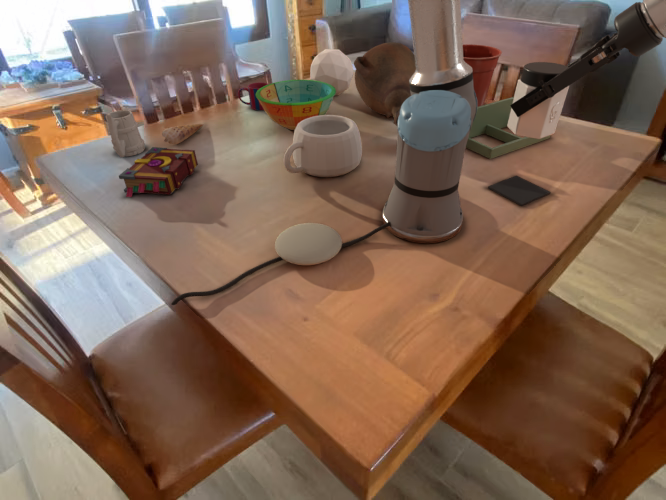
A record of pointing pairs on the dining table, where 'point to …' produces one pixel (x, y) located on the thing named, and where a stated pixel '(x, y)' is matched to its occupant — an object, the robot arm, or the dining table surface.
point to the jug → (385, 77)
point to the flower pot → (481, 67)
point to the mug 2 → (325, 146)
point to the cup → (253, 95)
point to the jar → (544, 114)
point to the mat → (519, 190)
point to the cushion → (308, 244)
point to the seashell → (180, 133)
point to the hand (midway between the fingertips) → (523, 104)
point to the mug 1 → (124, 133)
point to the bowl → (295, 100)
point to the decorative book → (159, 171)
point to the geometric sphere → (332, 69)
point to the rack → (496, 130)
